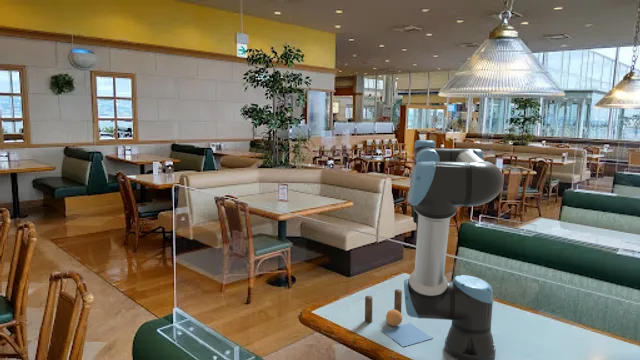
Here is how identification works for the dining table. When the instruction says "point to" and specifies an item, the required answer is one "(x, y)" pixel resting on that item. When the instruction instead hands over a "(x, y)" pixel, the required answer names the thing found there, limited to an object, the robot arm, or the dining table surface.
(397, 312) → the ball
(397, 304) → the post right
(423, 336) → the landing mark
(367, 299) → the post left
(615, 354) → the dining table surface
